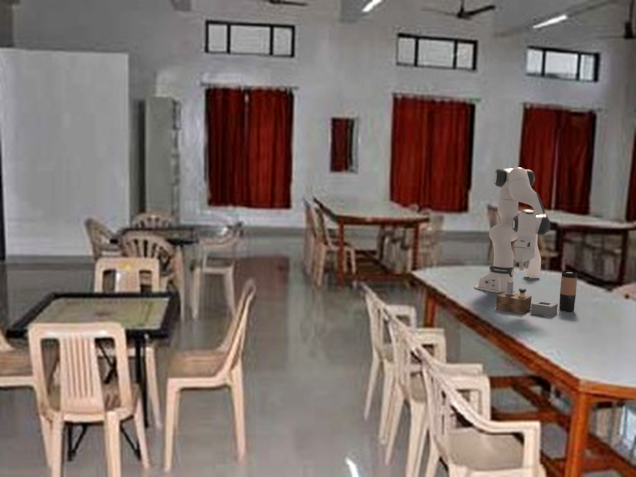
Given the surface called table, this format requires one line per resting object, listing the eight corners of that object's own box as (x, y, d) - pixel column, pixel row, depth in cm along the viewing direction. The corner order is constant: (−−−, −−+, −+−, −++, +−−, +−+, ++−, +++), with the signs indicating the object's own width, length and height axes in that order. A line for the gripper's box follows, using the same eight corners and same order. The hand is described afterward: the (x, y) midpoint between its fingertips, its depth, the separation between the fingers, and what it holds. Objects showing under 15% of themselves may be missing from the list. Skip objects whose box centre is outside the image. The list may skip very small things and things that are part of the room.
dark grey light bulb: (516, 304, 359) (517, 289, 358) (519, 303, 362) (520, 288, 361) (523, 305, 357) (524, 290, 356) (526, 304, 360) (527, 289, 359)
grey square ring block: (530, 313, 354) (531, 303, 353) (537, 309, 362) (537, 300, 361) (550, 316, 348) (551, 306, 348) (556, 313, 356) (557, 303, 356)
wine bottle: (541, 279, 450) (545, 232, 446) (526, 278, 450) (530, 231, 446) (537, 276, 459) (540, 230, 455) (522, 275, 459) (525, 229, 455)
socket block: (495, 309, 361) (496, 295, 360) (504, 305, 371) (505, 292, 370) (522, 313, 353) (523, 299, 352) (530, 309, 363) (531, 295, 362)
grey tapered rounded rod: (504, 308, 363) (506, 281, 361) (506, 307, 365) (508, 280, 363) (510, 309, 361) (512, 282, 359) (512, 308, 364) (514, 281, 362)
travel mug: (574, 309, 366) (577, 271, 363) (574, 312, 359) (577, 273, 356) (558, 308, 368) (561, 270, 366) (558, 311, 361) (561, 272, 358)
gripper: (526, 239, 365) (524, 266, 367) (513, 243, 348) (511, 271, 350) (538, 240, 362) (536, 267, 364) (525, 244, 345) (523, 272, 347)
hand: (524, 269), depth 357 cm, fingers open, 6 cm apart
